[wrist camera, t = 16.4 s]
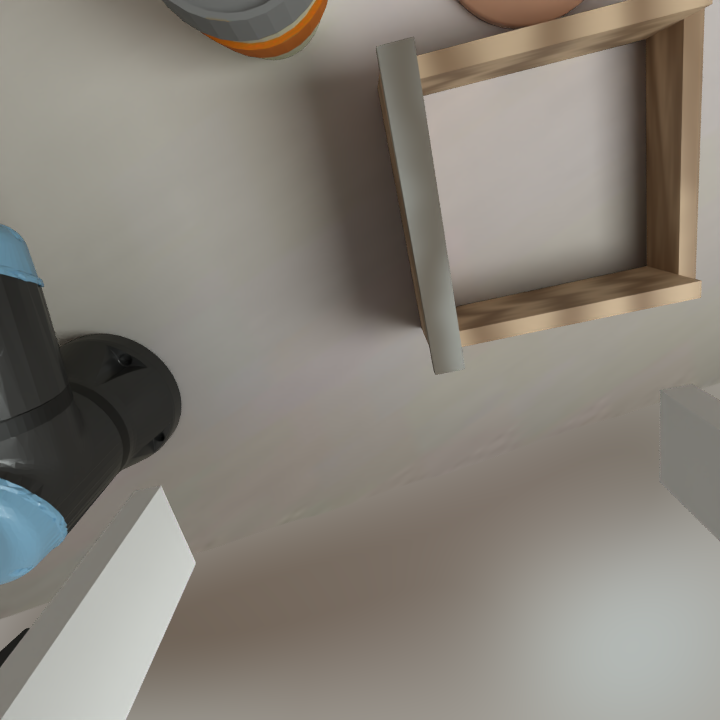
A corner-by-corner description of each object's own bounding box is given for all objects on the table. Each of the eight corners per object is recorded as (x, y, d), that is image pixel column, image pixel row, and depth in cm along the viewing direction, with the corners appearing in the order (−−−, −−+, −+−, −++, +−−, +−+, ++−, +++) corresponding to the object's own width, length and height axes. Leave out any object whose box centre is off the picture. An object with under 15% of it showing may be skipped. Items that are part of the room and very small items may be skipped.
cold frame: (417, 328, 49) (435, 375, 36) (372, 89, 41) (376, 46, 29) (661, 277, 47) (767, 308, 34) (663, 14, 39) (801, -67, 27)
